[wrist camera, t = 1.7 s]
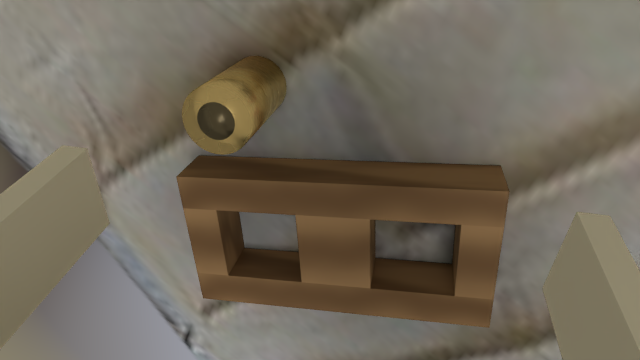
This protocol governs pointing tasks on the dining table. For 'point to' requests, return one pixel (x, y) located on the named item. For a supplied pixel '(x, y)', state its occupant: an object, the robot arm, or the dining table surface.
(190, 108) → the brass bushing
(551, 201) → the dining table surface
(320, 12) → the dining table surface
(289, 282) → the frame
